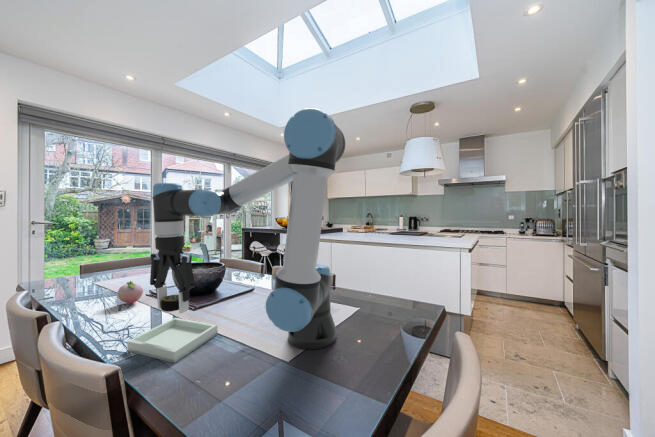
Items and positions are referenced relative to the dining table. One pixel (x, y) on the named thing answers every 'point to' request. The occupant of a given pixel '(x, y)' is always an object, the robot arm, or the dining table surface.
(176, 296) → the tape measure
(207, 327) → the tray
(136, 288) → the decorative fruit
